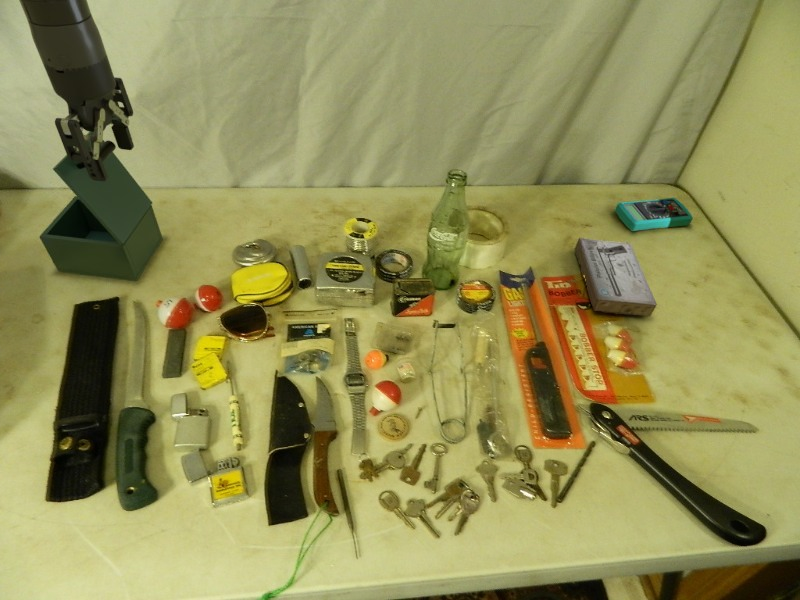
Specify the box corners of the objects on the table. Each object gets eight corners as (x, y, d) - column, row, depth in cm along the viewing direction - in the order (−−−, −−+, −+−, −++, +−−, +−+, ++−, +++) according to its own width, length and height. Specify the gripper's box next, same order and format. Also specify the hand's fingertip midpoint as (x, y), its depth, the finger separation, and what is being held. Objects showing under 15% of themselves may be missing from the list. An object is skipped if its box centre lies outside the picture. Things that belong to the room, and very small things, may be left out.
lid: (52, 168, 74) (77, 161, 73) (91, 129, 82) (115, 122, 81) (120, 245, 84) (143, 239, 83) (149, 203, 92) (171, 197, 90)
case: (58, 271, 90) (38, 236, 84) (90, 230, 98) (74, 196, 92) (136, 281, 90) (122, 246, 84) (163, 239, 98) (151, 205, 92)
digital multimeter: (691, 226, 112) (697, 215, 110) (629, 233, 109) (635, 222, 107) (671, 206, 117) (677, 195, 115) (611, 211, 114) (617, 200, 112)
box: (591, 312, 92) (598, 299, 89) (572, 248, 104) (578, 236, 102) (651, 318, 92) (659, 306, 90) (625, 254, 104) (632, 242, 102)
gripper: (73, 29, 73) (111, 136, 85) (11, 74, 63) (64, 188, 75) (127, 35, 73) (158, 142, 84) (73, 81, 63) (116, 194, 75)
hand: (114, 163), depth 80 cm, fingers open, 8 cm apart
